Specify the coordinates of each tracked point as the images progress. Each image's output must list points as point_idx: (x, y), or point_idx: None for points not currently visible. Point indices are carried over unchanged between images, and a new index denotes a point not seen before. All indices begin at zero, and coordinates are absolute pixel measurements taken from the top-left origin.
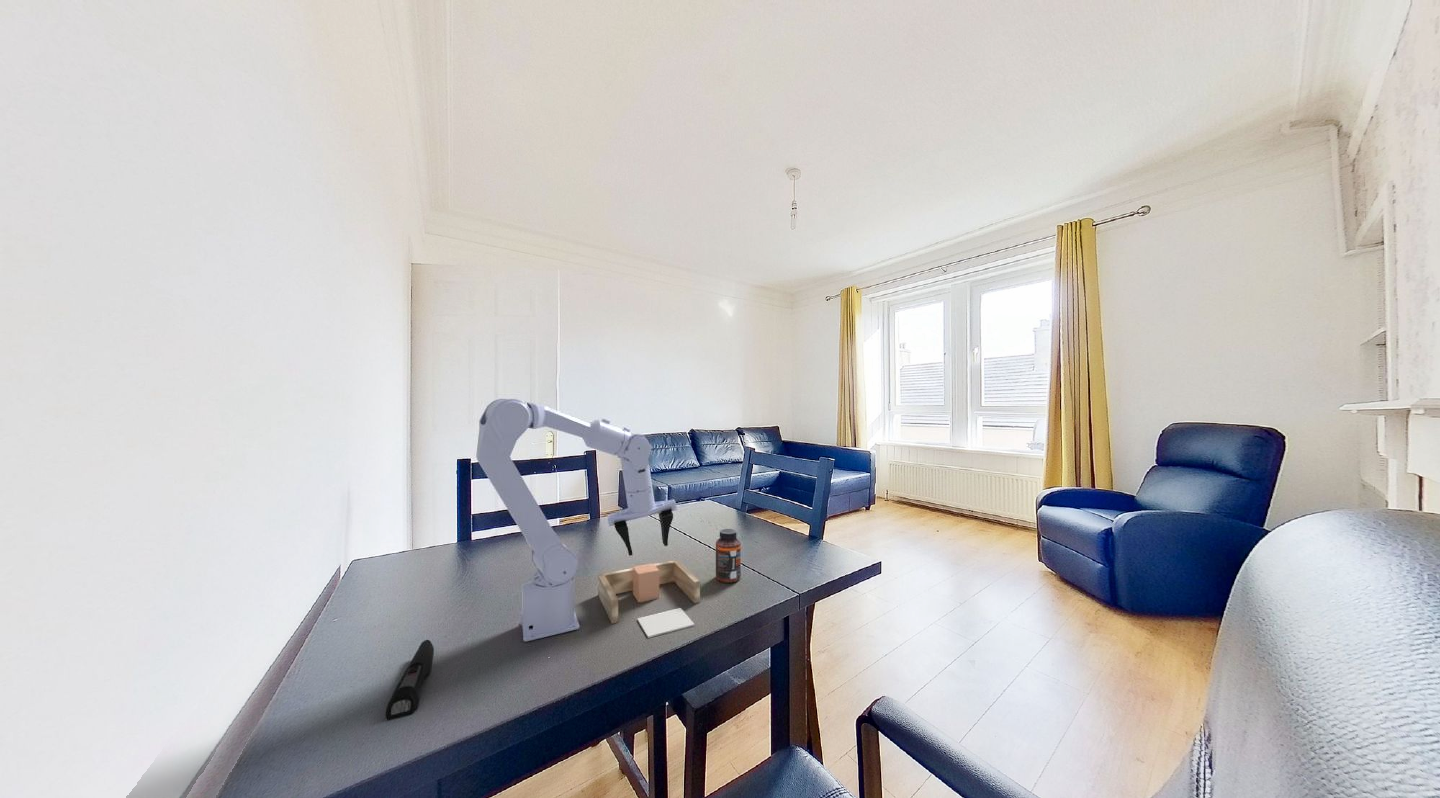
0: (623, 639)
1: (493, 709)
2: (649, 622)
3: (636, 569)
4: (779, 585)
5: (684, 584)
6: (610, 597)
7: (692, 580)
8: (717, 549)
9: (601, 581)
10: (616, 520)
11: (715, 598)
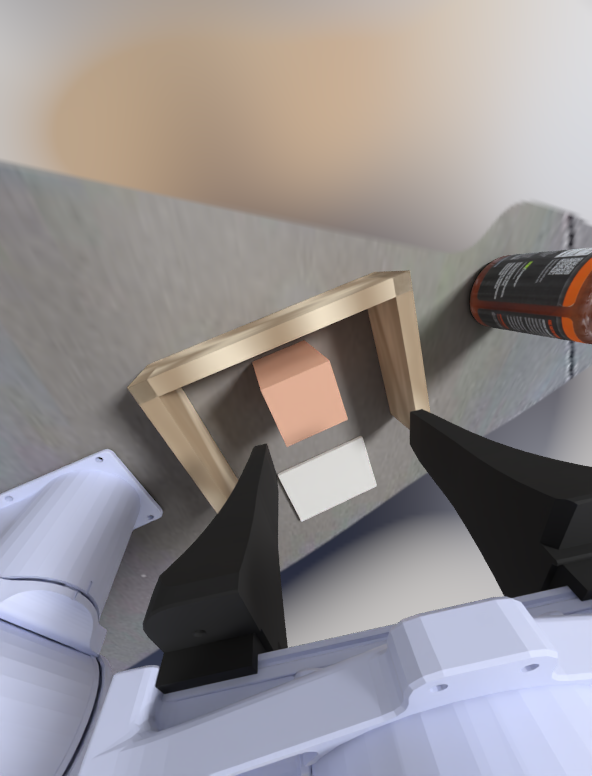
0: None
1: (122, 652)
2: (302, 486)
3: (276, 413)
4: (565, 342)
5: (390, 370)
6: None
7: None
8: (560, 315)
9: (162, 436)
10: (192, 714)
11: (434, 393)
